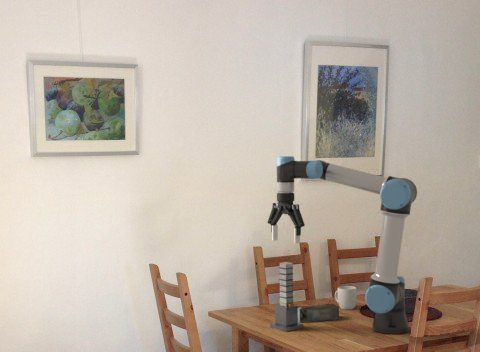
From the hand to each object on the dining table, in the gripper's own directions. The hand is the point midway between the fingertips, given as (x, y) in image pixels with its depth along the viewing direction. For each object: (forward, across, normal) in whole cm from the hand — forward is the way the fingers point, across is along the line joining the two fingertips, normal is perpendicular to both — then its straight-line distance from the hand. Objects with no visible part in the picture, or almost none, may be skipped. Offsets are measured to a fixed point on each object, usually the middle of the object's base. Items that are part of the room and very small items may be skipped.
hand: (285, 241), depth 307 cm
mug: (+37, +9, -48) cm, 61 cm away
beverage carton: (+37, +1, -21) cm, 43 cm away
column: (+29, -1, 0) cm, 29 cm away
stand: (+37, -1, 0) cm, 37 cm away
